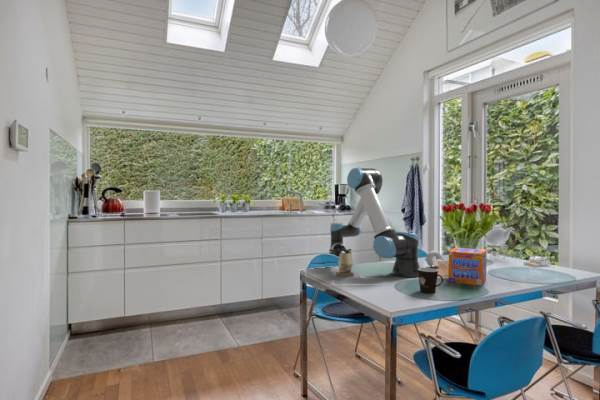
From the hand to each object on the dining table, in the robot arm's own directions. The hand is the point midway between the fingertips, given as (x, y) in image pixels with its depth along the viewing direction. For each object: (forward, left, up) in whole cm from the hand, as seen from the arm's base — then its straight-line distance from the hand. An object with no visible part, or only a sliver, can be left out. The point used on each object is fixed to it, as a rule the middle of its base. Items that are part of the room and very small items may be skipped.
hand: (343, 255), depth 192 cm
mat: (0, 0, -12) cm, 12 cm away
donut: (-46, -42, -12) cm, 64 cm away
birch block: (+1, -3, -8) cm, 9 cm away
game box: (-61, -12, -12) cm, 64 cm away
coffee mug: (-42, +18, -12) cm, 48 cm away
